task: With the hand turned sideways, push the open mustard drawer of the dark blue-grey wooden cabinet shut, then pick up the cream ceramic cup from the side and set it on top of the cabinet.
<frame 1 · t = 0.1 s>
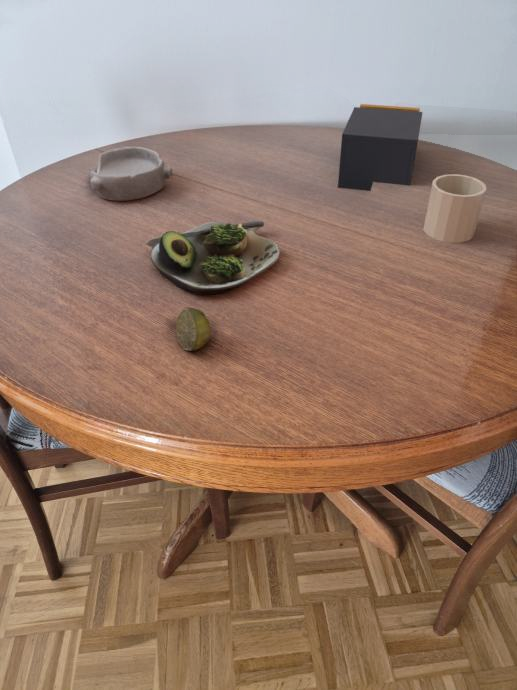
cup: (446, 240, 84), on the table
salad plate: (212, 263, 80), on the table
lime: (193, 345, 66), on the table
drawer: (384, 137, 104), point 5 cm above the table, slide at 4.0 cm
cabinet: (377, 174, 103), on the table
dish: (132, 187, 100), on the table
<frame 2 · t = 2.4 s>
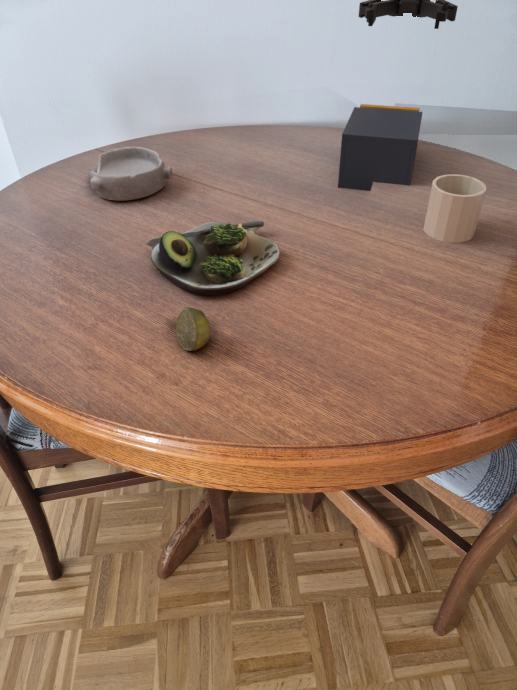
hand: (403, 19, 103), 22 cm above the table, tool horizontal, fingers open, 12 cm apart
nothing on the table moved.
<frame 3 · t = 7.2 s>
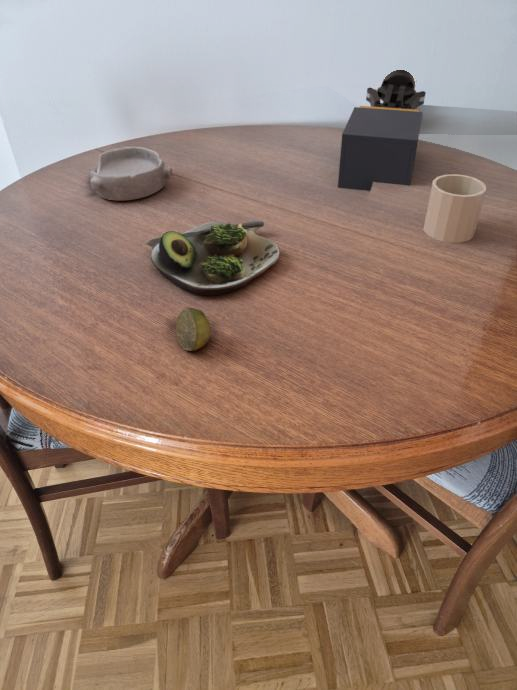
hand: (388, 120, 108), 6 cm above the table, tool horizontal, fingers closed
drawer: (383, 139, 103), point 5 cm above the table, slide at 2.9 cm, touching gripper
everything else where it was.
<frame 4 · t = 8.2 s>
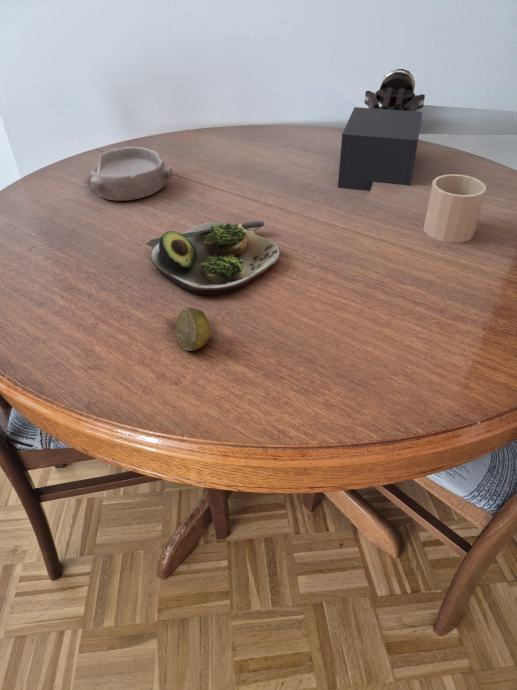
hand: (386, 124, 106), 6 cm above the table, tool horizontal, fingers closed
drawer: (381, 144, 101), point 5 cm above the table, slide at 0.1 cm, touching gripper
everything else where it was.
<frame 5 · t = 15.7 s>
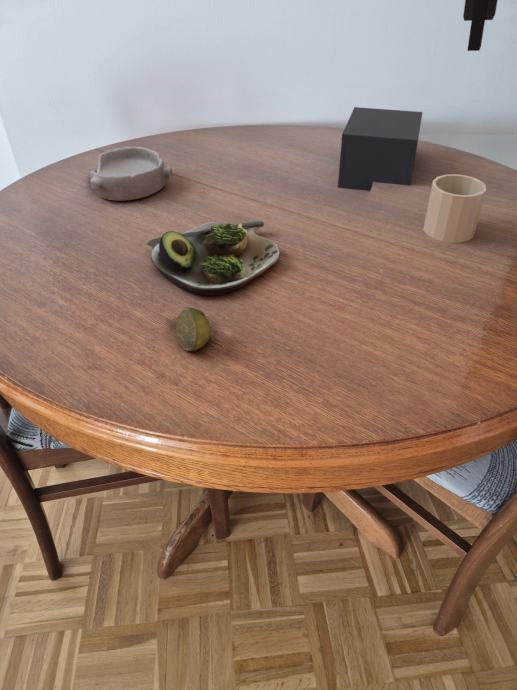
hand: (474, 48, 72), 25 cm above the table, tool pointing down, fingers closed
drawer: (381, 144, 101), point 5 cm above the table, slide at 0.1 cm
everything else where it was.
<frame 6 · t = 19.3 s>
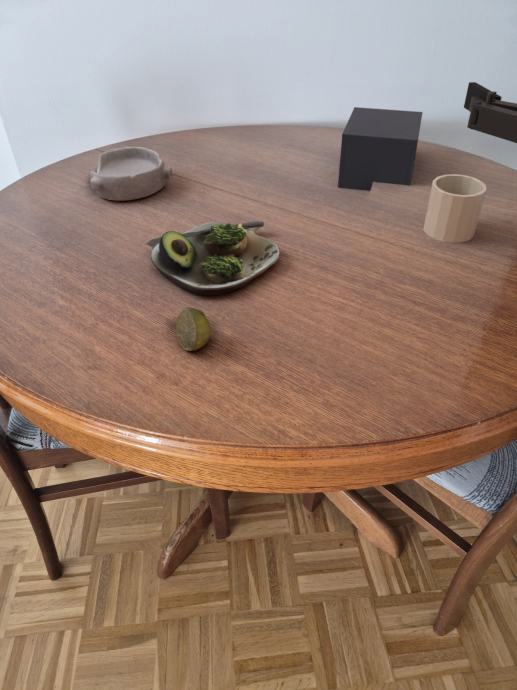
nothing on the table moved.
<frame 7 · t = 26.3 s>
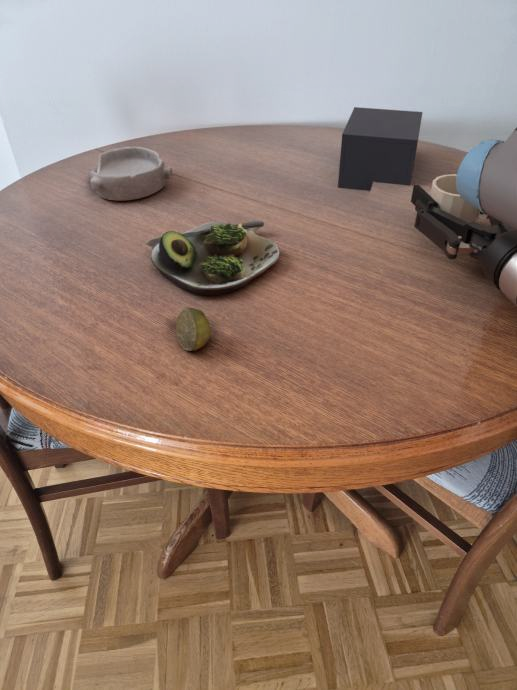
hand: (439, 190, 83), 6 cm above the table, tool horizontal, fingers closed on cup, 7 cm apart
cup: (446, 240, 84), on the table, touching gripper
everything else where it was.
when the fingers open (16 cm above the table, at t = 36.6 s): cup stays where it is, resting on cabinet.
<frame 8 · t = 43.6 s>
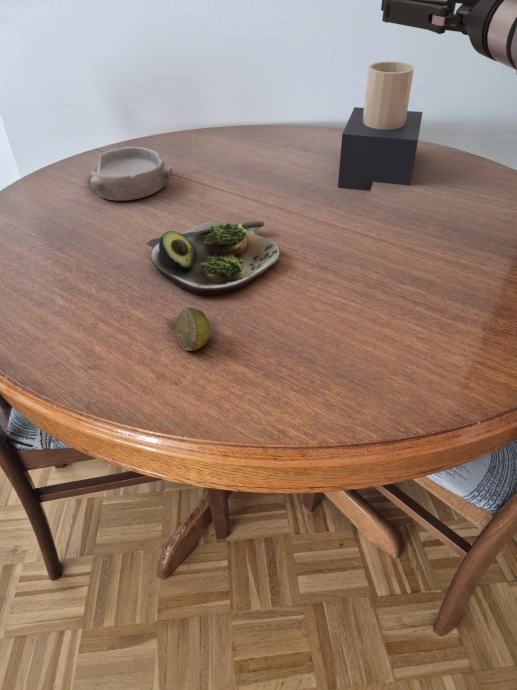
cup: (383, 122, 96), point 10 cm above the table, touching cabinet
everything else where it was.
at the end: drawer slide at 0.1 cm; cup inside the target area on the cabinet (0.0 cm from its centre), point 9.6 cm above the cabinet's base; cup tilted 0° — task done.
